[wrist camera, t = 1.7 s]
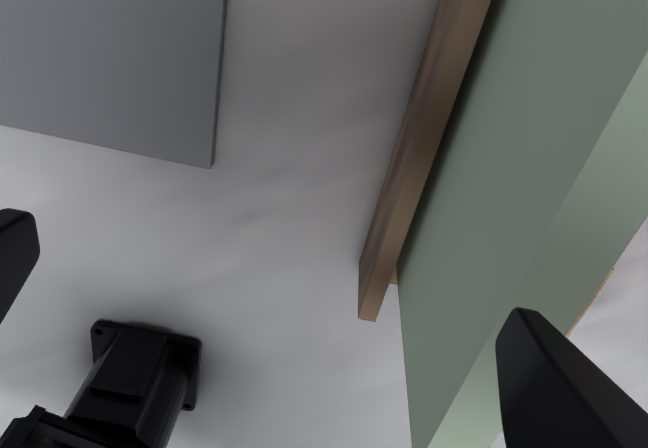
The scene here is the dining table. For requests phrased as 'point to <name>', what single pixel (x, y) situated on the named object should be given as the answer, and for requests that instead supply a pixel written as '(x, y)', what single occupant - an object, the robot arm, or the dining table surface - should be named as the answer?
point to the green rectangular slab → (522, 199)
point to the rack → (417, 144)
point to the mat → (115, 73)
